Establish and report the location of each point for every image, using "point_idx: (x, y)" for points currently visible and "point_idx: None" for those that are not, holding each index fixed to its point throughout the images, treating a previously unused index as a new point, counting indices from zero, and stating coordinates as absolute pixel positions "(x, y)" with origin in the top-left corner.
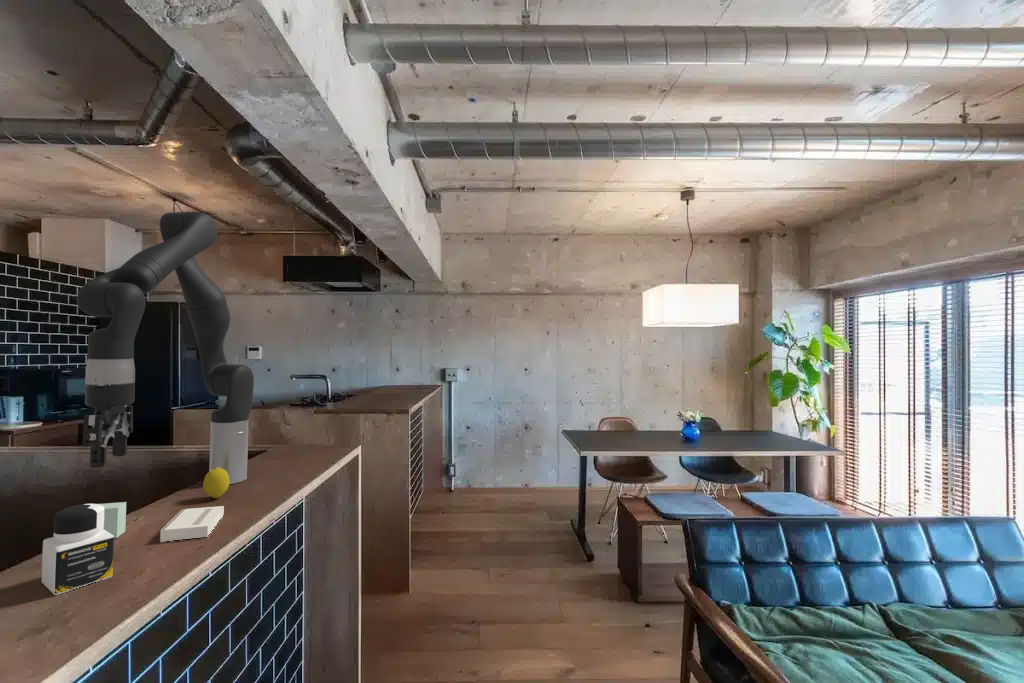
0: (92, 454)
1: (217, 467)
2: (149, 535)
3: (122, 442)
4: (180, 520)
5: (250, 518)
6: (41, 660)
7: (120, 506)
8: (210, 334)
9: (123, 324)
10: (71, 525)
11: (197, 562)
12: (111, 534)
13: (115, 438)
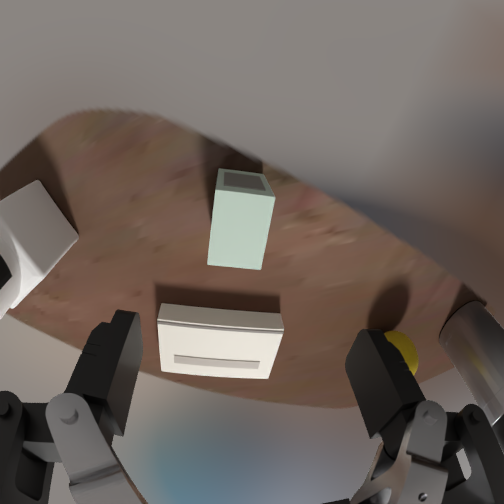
0: (77, 372)
1: None
2: (208, 279)
3: (371, 411)
4: (205, 338)
5: (237, 389)
6: None
7: (223, 265)
8: None
9: None
10: None
11: (81, 348)
12: (12, 306)
13: (401, 411)
